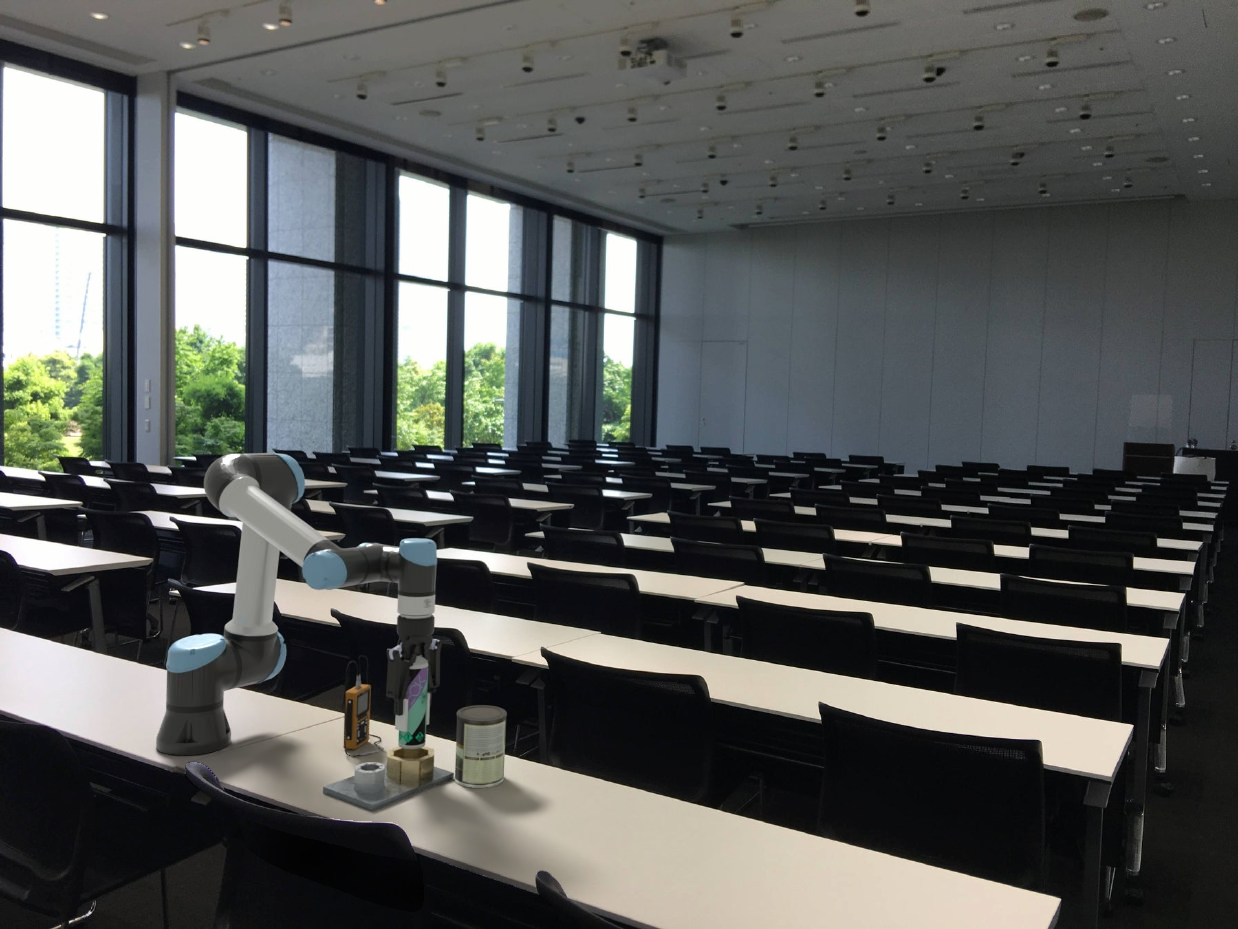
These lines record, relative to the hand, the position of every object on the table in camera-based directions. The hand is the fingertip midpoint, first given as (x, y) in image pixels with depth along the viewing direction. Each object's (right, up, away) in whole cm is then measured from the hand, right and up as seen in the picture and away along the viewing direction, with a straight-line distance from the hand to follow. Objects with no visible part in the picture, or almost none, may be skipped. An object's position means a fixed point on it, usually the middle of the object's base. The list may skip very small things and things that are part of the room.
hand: (412, 726), depth 199 cm
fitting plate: (-4, -11, -4) cm, 12 cm away
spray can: (0, -4, 0) cm, 4 cm away
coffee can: (+14, -12, +1) cm, 18 cm away
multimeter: (-13, -10, +18) cm, 24 cm away
